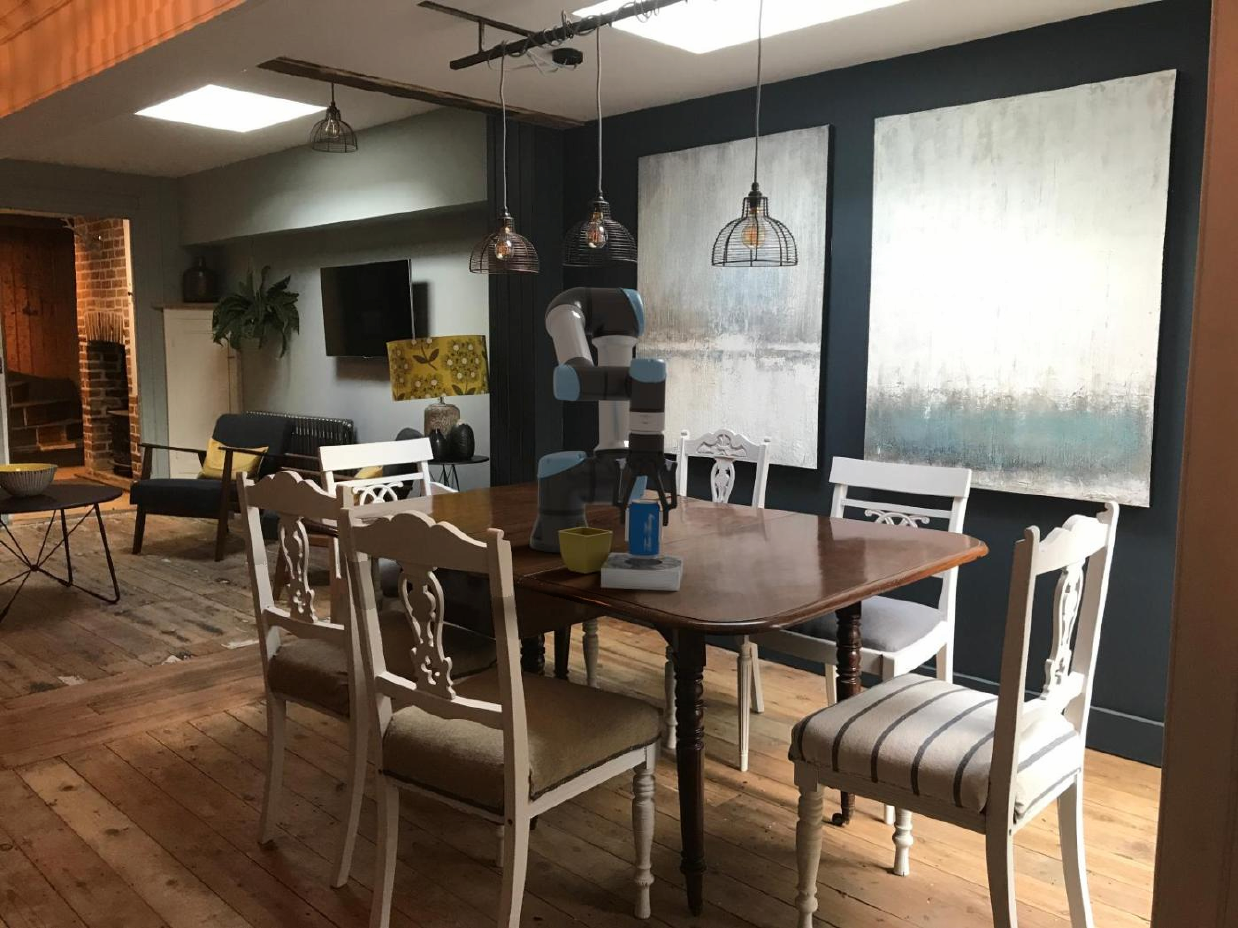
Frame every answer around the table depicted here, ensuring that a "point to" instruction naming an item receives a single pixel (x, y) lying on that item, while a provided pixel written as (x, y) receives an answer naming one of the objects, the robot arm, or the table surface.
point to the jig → (642, 572)
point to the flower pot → (585, 548)
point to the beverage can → (644, 528)
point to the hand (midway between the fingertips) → (644, 540)
